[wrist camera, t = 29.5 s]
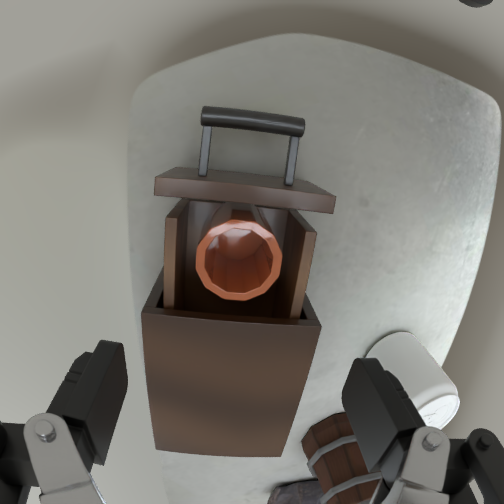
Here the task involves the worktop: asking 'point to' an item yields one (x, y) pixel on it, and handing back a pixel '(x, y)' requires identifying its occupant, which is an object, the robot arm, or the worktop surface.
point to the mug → (339, 462)
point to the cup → (237, 252)
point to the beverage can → (418, 377)
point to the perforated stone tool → (297, 493)
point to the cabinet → (224, 377)
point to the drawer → (249, 192)
